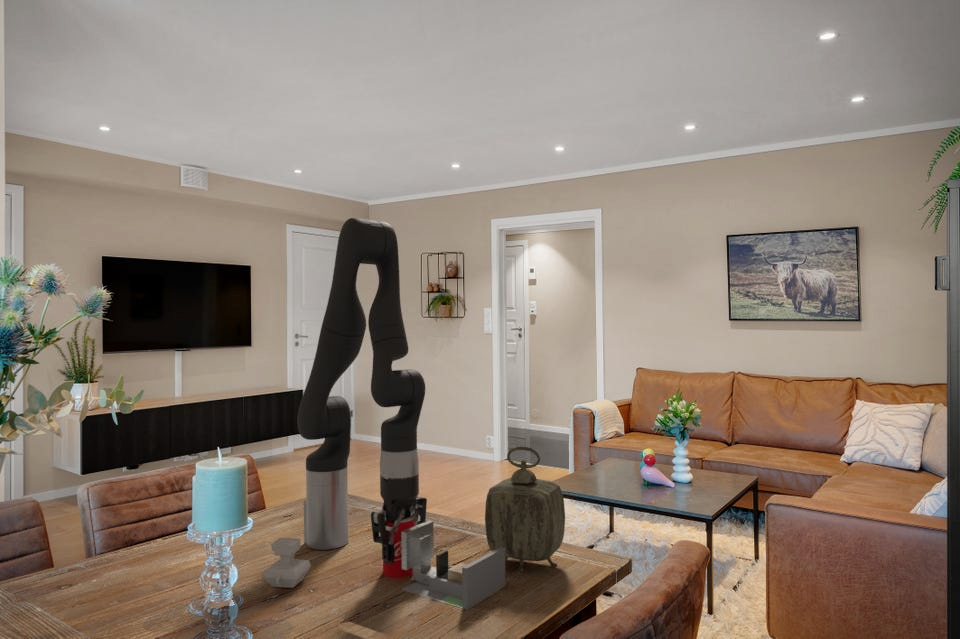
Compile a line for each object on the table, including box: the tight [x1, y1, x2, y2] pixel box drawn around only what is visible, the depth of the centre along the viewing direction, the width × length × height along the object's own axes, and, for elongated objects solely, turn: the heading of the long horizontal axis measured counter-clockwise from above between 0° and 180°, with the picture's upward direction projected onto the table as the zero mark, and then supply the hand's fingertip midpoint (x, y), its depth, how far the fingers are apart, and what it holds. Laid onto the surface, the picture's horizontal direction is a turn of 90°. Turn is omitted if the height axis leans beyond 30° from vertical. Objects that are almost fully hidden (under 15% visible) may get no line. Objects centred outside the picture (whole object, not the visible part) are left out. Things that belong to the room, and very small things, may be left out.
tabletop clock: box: [484, 446, 566, 572], centre depth 130 cm, size 14×9×25 cm, turn 65°
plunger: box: [401, 520, 449, 585], centre depth 124 cm, size 7×8×10 cm
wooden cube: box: [448, 562, 468, 584], centre depth 119 cm, size 4×4×4 cm
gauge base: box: [401, 547, 506, 611], centre depth 120 cm, size 15×12×8 cm
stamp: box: [263, 537, 312, 589], centre depth 126 cm, size 9×7×8 cm
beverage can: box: [382, 517, 416, 579], centre depth 128 cm, size 6×6×12 cm
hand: (400, 557), depth 128 cm, fingers closed on beverage can, 6 cm apart
